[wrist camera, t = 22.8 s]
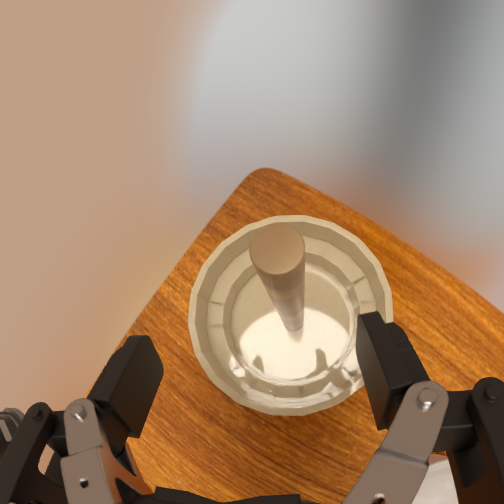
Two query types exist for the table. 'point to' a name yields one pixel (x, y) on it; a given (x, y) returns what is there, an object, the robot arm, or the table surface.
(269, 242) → the stick
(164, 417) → the table surface
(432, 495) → the ramekin
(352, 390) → the bowl
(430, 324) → the table surface
